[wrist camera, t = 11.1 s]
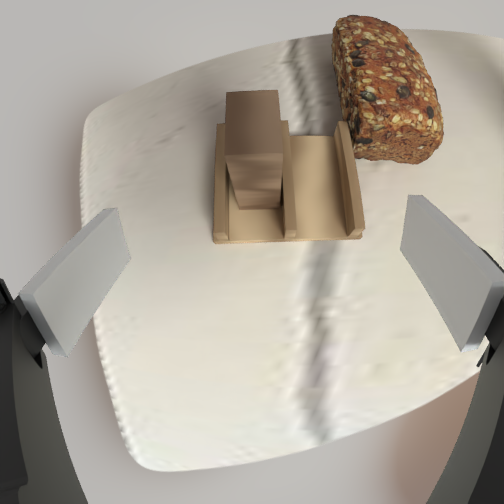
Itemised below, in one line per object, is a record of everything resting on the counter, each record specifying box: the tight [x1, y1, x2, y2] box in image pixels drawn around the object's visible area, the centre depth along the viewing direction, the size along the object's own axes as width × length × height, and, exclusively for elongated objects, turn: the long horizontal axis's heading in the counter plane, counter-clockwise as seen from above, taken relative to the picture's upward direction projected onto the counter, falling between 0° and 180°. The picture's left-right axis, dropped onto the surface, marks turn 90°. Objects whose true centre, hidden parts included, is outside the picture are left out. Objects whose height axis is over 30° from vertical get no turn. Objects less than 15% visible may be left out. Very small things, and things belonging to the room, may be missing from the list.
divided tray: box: [213, 120, 365, 244], centre depth 30 cm, size 15×12×4 cm
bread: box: [331, 15, 444, 164], centre depth 29 cm, size 19×11×10 cm, turn 178°
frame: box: [224, 90, 283, 210], centre depth 26 cm, size 4×6×11 cm
